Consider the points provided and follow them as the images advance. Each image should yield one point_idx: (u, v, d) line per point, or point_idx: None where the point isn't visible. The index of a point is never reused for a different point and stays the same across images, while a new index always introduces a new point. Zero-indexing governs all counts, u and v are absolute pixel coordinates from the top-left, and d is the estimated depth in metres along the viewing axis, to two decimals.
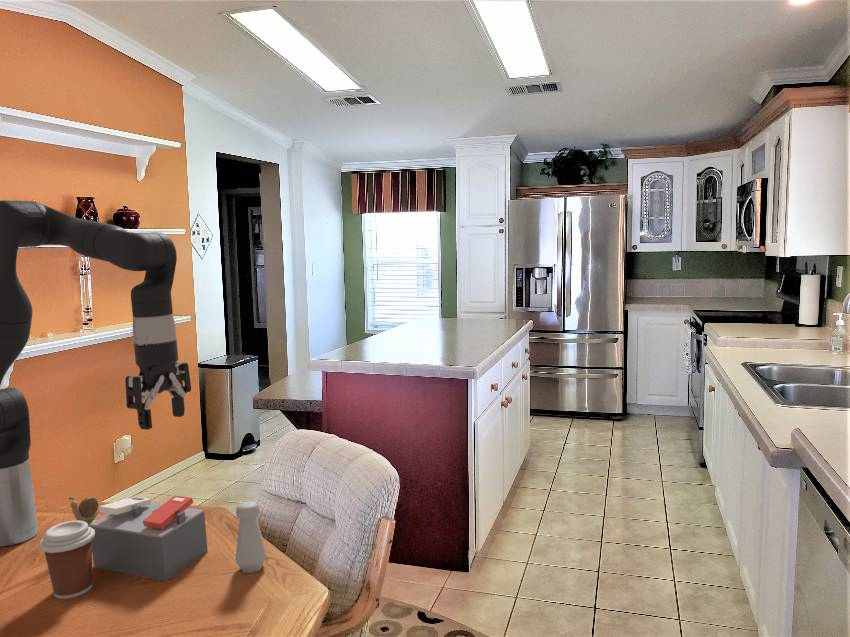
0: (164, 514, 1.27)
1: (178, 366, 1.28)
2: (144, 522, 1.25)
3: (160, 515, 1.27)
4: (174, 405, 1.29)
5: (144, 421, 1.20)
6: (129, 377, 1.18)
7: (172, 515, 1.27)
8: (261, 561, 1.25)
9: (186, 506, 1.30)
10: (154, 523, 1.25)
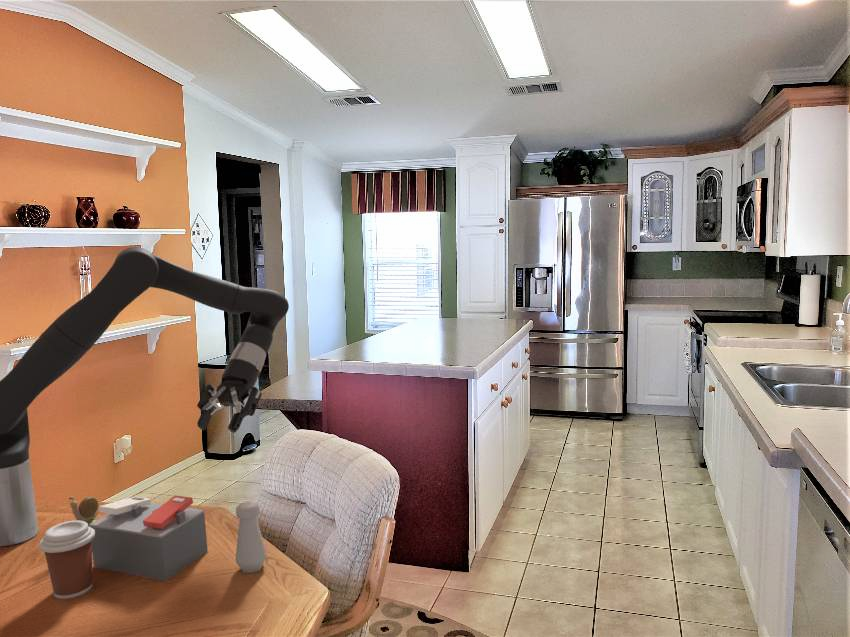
0: (164, 514, 1.27)
1: None
2: (144, 522, 1.25)
3: (160, 515, 1.27)
4: (205, 418, 1.44)
5: None
6: (257, 389, 1.45)
7: (172, 515, 1.27)
8: (261, 561, 1.25)
9: (186, 506, 1.30)
10: (154, 523, 1.25)
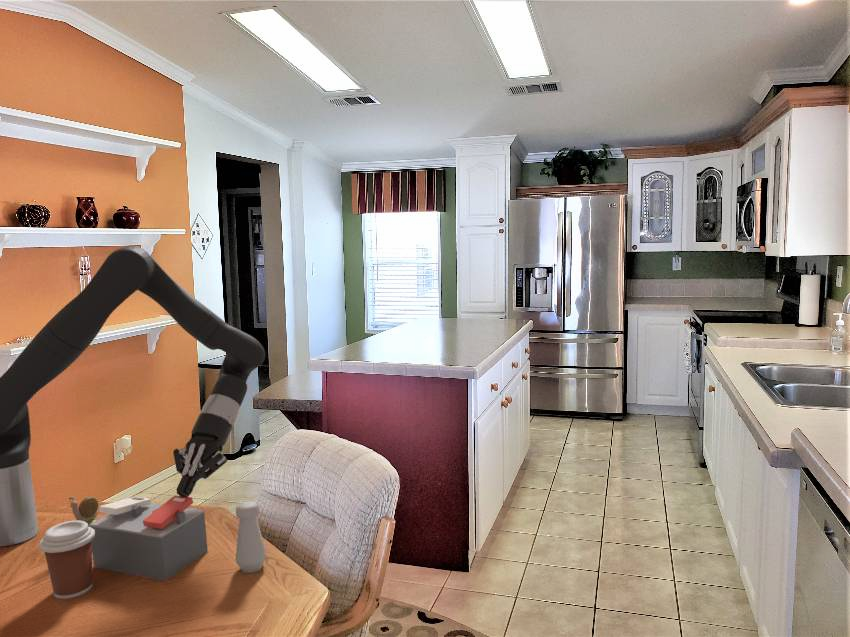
0: (164, 514, 1.27)
1: None
2: (144, 522, 1.25)
3: (160, 515, 1.27)
4: None
5: None
6: (223, 457, 1.35)
7: (172, 515, 1.27)
8: (261, 561, 1.25)
9: (186, 506, 1.30)
10: (154, 523, 1.25)
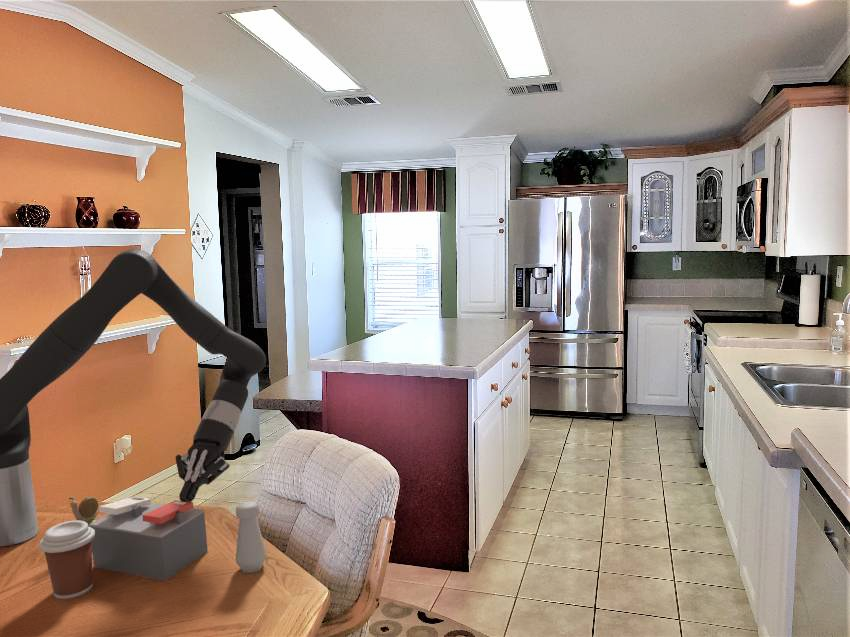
0: (164, 512, 1.27)
1: None
2: (143, 516, 1.25)
3: (160, 512, 1.27)
4: None
5: None
6: (225, 462, 1.36)
7: (172, 513, 1.27)
8: (261, 561, 1.25)
9: (186, 509, 1.30)
10: (154, 517, 1.24)
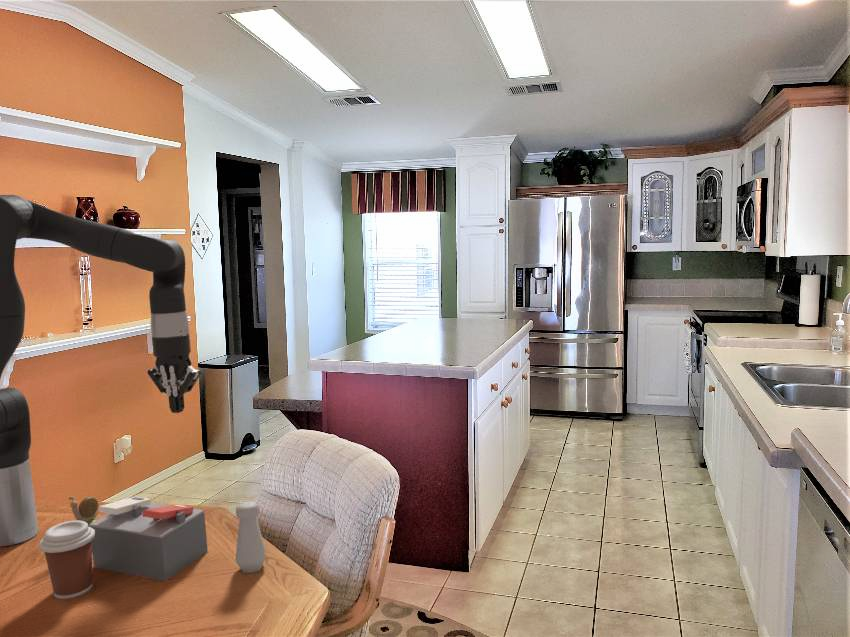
0: (165, 509, 1.27)
1: None
2: (144, 511, 1.25)
3: (161, 509, 1.27)
4: None
5: None
6: (195, 373, 1.38)
7: (172, 512, 1.27)
8: (261, 561, 1.25)
9: (186, 512, 1.30)
10: (154, 512, 1.25)
